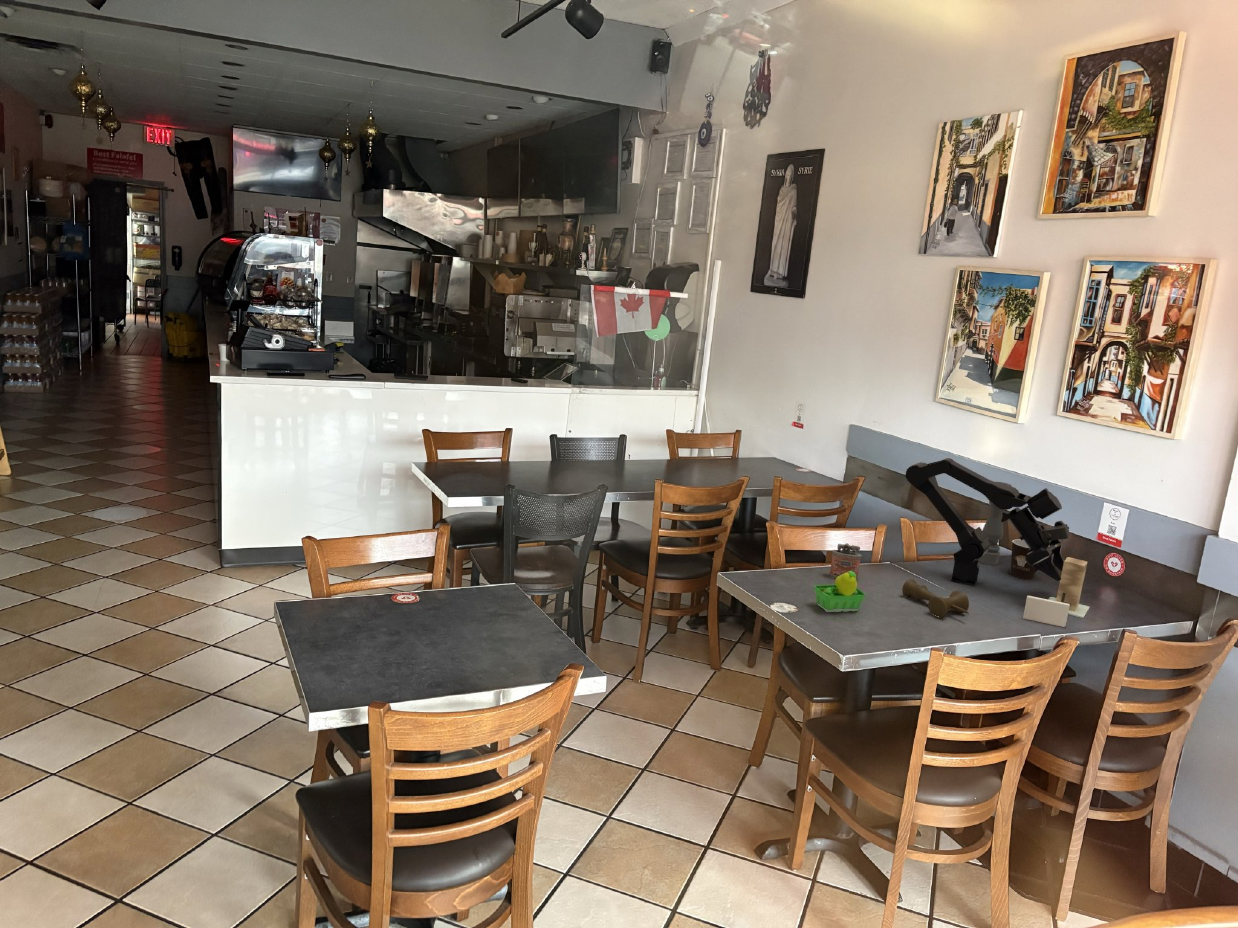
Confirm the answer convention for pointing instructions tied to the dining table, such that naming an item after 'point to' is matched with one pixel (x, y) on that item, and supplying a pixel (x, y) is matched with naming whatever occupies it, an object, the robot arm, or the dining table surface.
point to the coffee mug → (1021, 560)
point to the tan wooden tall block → (1071, 582)
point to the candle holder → (993, 534)
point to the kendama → (937, 599)
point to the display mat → (1079, 611)
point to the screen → (1046, 611)
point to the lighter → (845, 560)
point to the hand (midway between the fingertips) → (1063, 576)
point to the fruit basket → (840, 593)
